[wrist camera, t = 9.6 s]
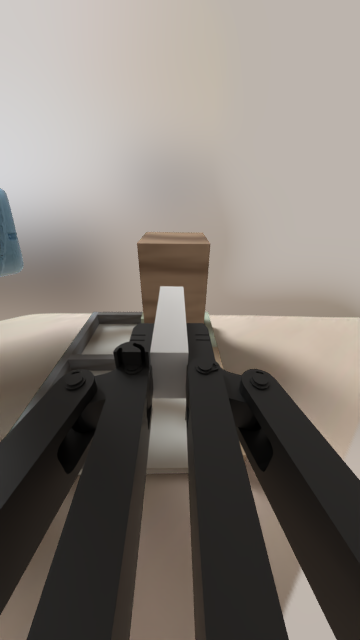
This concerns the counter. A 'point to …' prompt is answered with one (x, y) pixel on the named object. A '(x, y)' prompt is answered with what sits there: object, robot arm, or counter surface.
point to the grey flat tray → (97, 356)
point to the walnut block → (174, 271)
